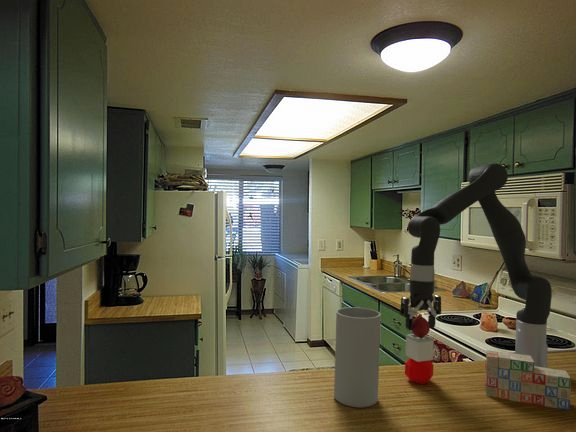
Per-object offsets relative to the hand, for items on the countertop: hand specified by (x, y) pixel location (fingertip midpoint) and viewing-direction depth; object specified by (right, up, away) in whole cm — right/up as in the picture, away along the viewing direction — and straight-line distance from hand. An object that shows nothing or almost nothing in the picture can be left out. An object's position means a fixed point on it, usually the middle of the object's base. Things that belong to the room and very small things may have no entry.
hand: (420, 328), depth 134 cm
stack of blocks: (+28, -18, -11) cm, 35 cm away
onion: (0, -3, 0) cm, 3 cm away
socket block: (0, -9, 0) cm, 9 cm away
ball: (0, -17, 0) cm, 17 cm away
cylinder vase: (-23, -17, -14) cm, 32 cm away
